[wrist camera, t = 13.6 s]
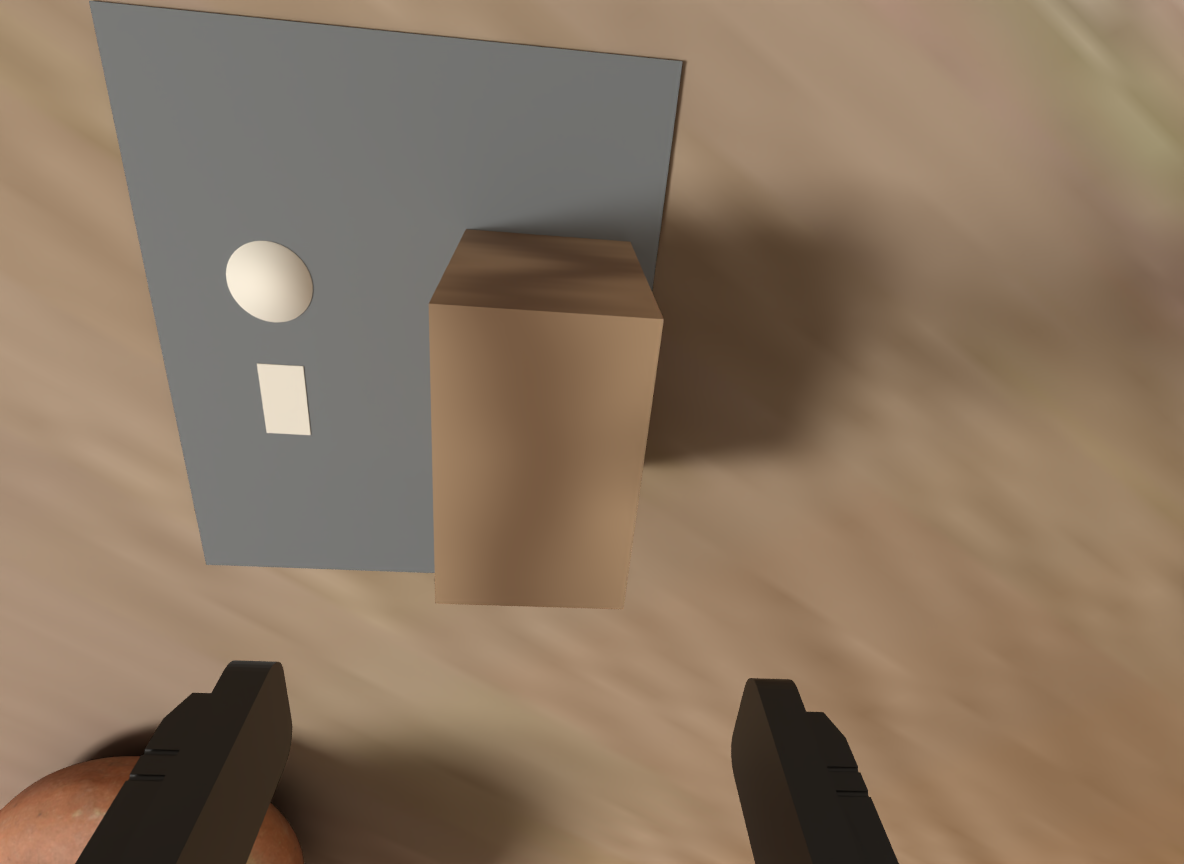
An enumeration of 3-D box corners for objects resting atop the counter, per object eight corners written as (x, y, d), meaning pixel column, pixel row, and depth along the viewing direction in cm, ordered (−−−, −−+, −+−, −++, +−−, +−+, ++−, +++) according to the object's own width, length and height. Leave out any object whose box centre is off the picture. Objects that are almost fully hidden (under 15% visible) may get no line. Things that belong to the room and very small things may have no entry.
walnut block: (630, 241, 24) (663, 319, 17) (605, 470, 28) (623, 609, 21) (465, 229, 23) (428, 303, 16) (464, 463, 27) (435, 603, 20)
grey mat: (682, 61, 21) (683, 61, 21) (614, 577, 31) (614, 580, 31) (90, 1, 20) (87, 0, 20) (207, 562, 29) (205, 565, 29)
